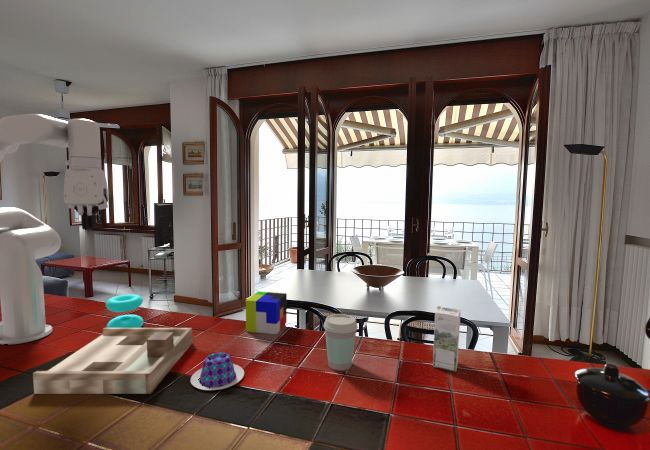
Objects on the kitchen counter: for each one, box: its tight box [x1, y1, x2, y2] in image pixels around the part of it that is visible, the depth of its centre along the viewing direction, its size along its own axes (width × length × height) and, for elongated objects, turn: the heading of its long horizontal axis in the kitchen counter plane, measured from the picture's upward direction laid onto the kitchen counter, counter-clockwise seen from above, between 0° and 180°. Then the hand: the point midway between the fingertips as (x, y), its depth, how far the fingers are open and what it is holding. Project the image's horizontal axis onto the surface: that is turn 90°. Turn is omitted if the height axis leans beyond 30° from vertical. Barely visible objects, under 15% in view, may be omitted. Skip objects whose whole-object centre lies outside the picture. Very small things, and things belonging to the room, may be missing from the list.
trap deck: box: [32, 327, 193, 395], centre depth 86 cm, size 24×25×4 cm
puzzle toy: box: [245, 291, 288, 335], centre depth 112 cm, size 10×10×10 cm
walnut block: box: [147, 332, 174, 358], centre depth 86 cm, size 4×4×4 cm
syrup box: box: [432, 305, 461, 372], centre depth 88 cm, size 6×6×14 cm
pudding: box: [190, 352, 245, 391], centre depth 81 cm, size 12×12×5 cm
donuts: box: [105, 293, 144, 328], centre depth 109 cm, size 10×10×10 cm
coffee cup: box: [323, 313, 359, 371], centre depth 87 cm, size 8×8×12 cm
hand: (88, 228), depth 100 cm, fingers closed
